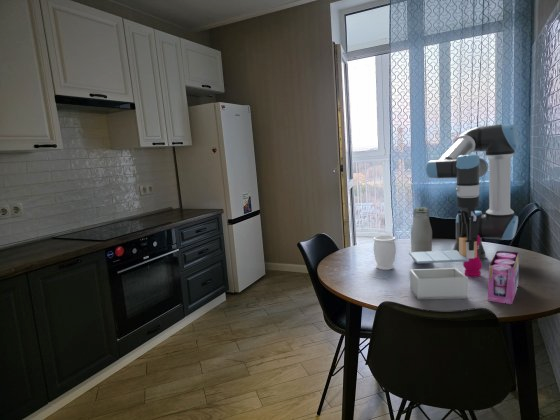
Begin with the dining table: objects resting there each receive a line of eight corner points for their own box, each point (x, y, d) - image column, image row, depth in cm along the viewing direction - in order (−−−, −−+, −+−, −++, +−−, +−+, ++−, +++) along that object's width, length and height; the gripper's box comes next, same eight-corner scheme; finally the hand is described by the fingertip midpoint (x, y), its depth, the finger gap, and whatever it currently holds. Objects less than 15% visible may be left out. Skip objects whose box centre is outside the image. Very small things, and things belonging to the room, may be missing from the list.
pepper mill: (480, 272, 165) (480, 228, 163) (483, 277, 159) (483, 232, 156) (462, 271, 168) (462, 228, 165) (464, 277, 161) (464, 232, 158)
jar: (397, 270, 176) (396, 239, 173) (374, 270, 178) (373, 240, 176) (395, 264, 186) (394, 234, 184) (373, 264, 188) (372, 235, 186)
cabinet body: (455, 286, 151) (455, 267, 150) (467, 298, 139) (467, 277, 138) (410, 288, 153) (409, 269, 152) (418, 299, 141) (417, 279, 140)
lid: (468, 251, 149) (468, 234, 148) (481, 260, 136) (481, 242, 135) (409, 254, 151) (408, 237, 150) (417, 263, 139) (417, 245, 138)
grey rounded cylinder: (412, 265, 182) (411, 209, 178) (410, 259, 192) (409, 205, 188) (433, 265, 179) (433, 208, 175) (431, 259, 189) (430, 205, 185)
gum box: (512, 306, 130) (513, 269, 128) (486, 302, 135) (487, 266, 133) (518, 285, 149) (519, 252, 147) (496, 282, 153) (496, 250, 151)
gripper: (449, 194, 148) (449, 250, 152) (466, 199, 131) (466, 263, 135) (469, 192, 147) (469, 250, 151) (488, 198, 130) (488, 262, 134)
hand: (467, 256), depth 143 cm, fingers closed on lid, 4 cm apart
